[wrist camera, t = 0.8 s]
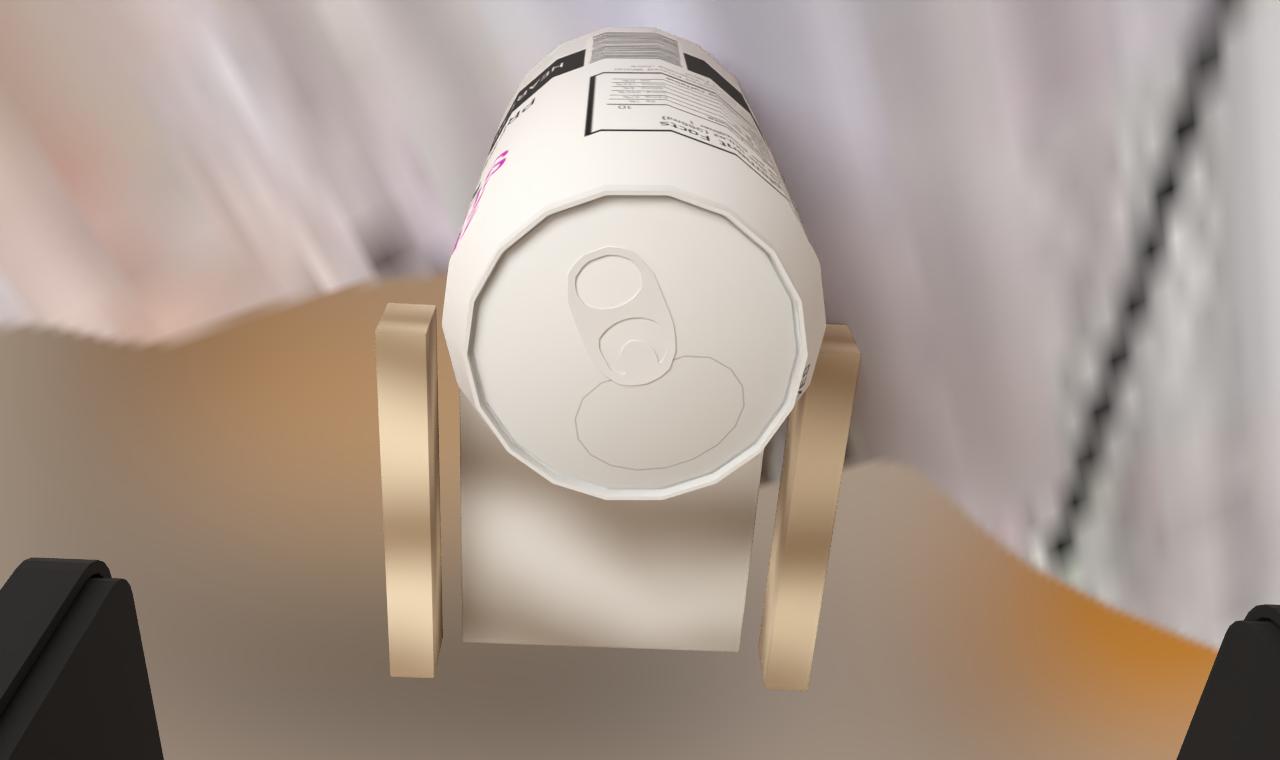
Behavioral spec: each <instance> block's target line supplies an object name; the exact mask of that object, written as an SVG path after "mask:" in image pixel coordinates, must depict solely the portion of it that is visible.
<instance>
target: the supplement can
mask: <svg viewBox="0 0 1280 760" xmlns="http://www.w3.org/2000/svg"><path fill="white" fill-rule="evenodd" d="M442 318H443V319H442V328H443V332H444V336H445V340H446V343H447V347H448V351H449V355H450V359H451V362H452V366H453V370H454V374H455V377H456V381H457V384H458V386H459V387H460V388H461V390H462V391H463V393H464V394H465V395H466V397H467V398H468V400H469V401H470V402H471V404H472V405H473V407H474V408H475V410H476V411H477V412H478V414H479V415H480V417H481V418H482V419H483V421H484V422H485V424H486V425H487V426H488V428H489V429H490V431H491V432H492V433H493V434H494V435H496V436H497V438H498V439H499V440H500V442H501V443H502V445H503V446H504V447H505V449H506V450H507V452H509V453H510V454H511V455H513V456H514V457H516V458H517V459H518V460H520V461H521V462H523V463H524V464H526V465H527V466H528V467H530V468H531V469H533V470H534V471H536V472H537V473H538V474H540V475H541V476H543V477H544V478H545V479H547V480H548V481H550V482H551V483H553V484H556V485H559V486H562V487H566V488H569V489H572V490H575V491H578V492H582V493H585V494H588V495H591V496H595V497H598V498H601V499H604V500H664V499H667V498H671V497H674V496H677V495H680V494H684V493H687V492H690V491H693V490H696V489H700V488H703V487H706V486H709V485H713V484H716V483H717V482H719V481H720V480H722V479H723V478H725V477H726V476H727V475H729V474H730V473H732V472H733V471H735V470H736V469H738V468H739V467H740V466H742V465H743V464H745V463H746V462H748V461H749V460H750V459H752V458H753V457H755V456H756V455H758V454H759V453H760V452H762V450H763V449H764V448H765V446H766V445H767V443H768V442H769V441H770V439H771V438H772V437H773V435H774V434H775V433H776V431H777V430H778V428H779V427H780V426H781V424H782V423H783V422H784V420H785V419H786V417H787V416H788V415H789V413H790V412H791V411H792V409H793V408H794V406H795V404H796V403H797V401H798V400H799V399H800V397H801V396H802V395H803V393H804V392H805V390H806V389H807V388H808V386H809V385H810V382H811V379H812V375H813V372H814V368H815V365H816V361H817V358H818V354H819V350H820V347H821V343H822V340H823V336H824V333H825V329H826V316H825V306H824V297H823V287H822V277H821V267H820V263H819V260H818V258H817V256H816V253H815V251H814V249H813V247H812V244H811V242H810V240H809V238H808V235H807V233H806V231H805V229H804V226H803V224H802V222H801V220H800V217H799V215H798V213H797V210H796V208H795V206H794V204H793V201H792V199H791V197H790V195H789V192H788V190H787V188H786V186H785V183H784V181H783V179H782V176H781V174H780V172H779V170H778V167H777V165H776V163H775V161H774V158H773V156H772V154H771V152H770V149H769V147H768V145H767V143H766V140H765V138H764V136H763V133H762V131H761V129H760V127H759V124H758V122H757V120H756V118H755V116H754V114H753V112H752V110H751V108H750V106H749V104H748V102H747V100H746V98H745V96H744V95H743V93H742V91H741V89H740V87H739V85H738V83H737V81H736V79H735V77H734V76H733V75H732V74H731V73H730V72H729V71H728V70H726V69H725V68H724V67H723V66H722V65H721V64H720V63H719V62H717V61H716V60H715V59H714V58H713V57H712V56H711V55H710V54H709V53H707V52H706V51H705V50H704V49H703V48H702V47H701V46H700V45H698V44H695V43H693V42H690V41H688V40H685V39H682V38H680V37H677V36H675V35H672V34H669V33H667V32H664V31H662V30H659V29H657V28H648V27H605V28H602V29H599V30H597V31H594V32H591V33H589V34H586V35H583V36H580V37H578V38H575V39H572V40H570V41H567V42H564V43H561V44H560V45H559V46H558V47H556V48H555V49H554V50H553V51H552V52H551V53H549V54H548V55H547V56H546V57H545V58H544V59H543V60H541V61H540V62H539V63H538V64H537V65H536V66H534V67H533V68H532V69H531V70H530V71H529V72H527V73H526V74H525V76H524V77H523V79H522V81H521V83H520V85H519V87H518V88H517V90H516V92H515V94H514V96H513V98H512V100H511V101H510V103H509V105H508V107H507V109H506V111H505V113H504V114H503V117H502V119H501V122H500V125H499V128H498V130H497V133H496V136H495V138H494V141H493V144H492V147H491V149H490V152H489V155H488V158H487V160H486V163H485V166H484V169H483V171H482V174H481V177H480V180H479V182H478V185H477V188H476V190H475V193H474V196H473V199H472V201H471V204H470V207H469V210H468V212H467V215H466V218H465V221H464V223H463V226H462V229H461V232H460V234H459V237H458V240H457V243H456V245H455V248H454V251H453V253H452V256H451V259H450V262H449V268H448V276H447V285H446V293H445V301H444V310H443V317H442Z"/></svg>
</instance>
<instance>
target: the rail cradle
mask: <svg viewBox="0 0 1280 760" xmlns="http://www.w3.org/2000/svg"><path fill="white" fill-rule="evenodd" d="M436 330H437V328H436V305H417V304H397V303H388V305H387V307H386V309H385V311H384V313H383V316H382V318H381V320H380V322H379V324H378V327H377V329H376V331H375V345H376V367H377V388H378V409H379V410H378V411H379V433H380V454H381V476H382V497H383V521H384V539H385V540H384V542H385V564H386V586H387V606H388V607H387V608H388V630H389V651H390V672H391V676H393V677H420V678H423V677H424V678H434V675H435V671H436V666H437V661H438V656H439V652H440V647H441V642H442V637H443V629H442V582H441V581H442V580H441V529H440V481H439V480H440V479H439V433H438V432H439V431H438V430H439V428H438V379H437V331H436ZM860 358H861V354H860V352H859V349H858V347H857V345H856V343H855V340H854V338H853V336H852V334H851V331H850V329H849V327H848V325H837V324H826V329H825V333H824V336H823V340H822V343H821V347H820V350H819V354H818V358H817V361H816V365H815V368H814V372H813V375H812V379H811V382H810V385H809V386H808V388H807V389H806V390H805V392H804V393H803V395H802V396H801V397H800V399H799V400H798V401H797V403H796V404H795V406H794V408H793V409H792V411H791V412H790V413H789V420H788V427H787V435H786V442H785V450H784V458H783V465H782V473H781V480H780V488H779V495H778V503H777V511H776V519H775V526H774V533H773V542H772V549H771V556H770V564H769V571H768V579H767V586H766V594H765V601H764V610H763V617H762V624H761V632H760V640H759V654H760V660H761V666H762V672H763V678H764V684H765V689H771V690H800V691H802V690H803V691H807V690H808V685H809V678H810V672H811V666H812V660H813V653H814V647H815V640H816V634H817V628H818V622H819V615H820V609H821V603H822V597H823V590H824V584H825V578H826V571H827V565H828V559H829V552H830V546H831V540H832V534H833V527H834V521H835V515H836V508H837V502H838V496H839V489H840V483H841V477H842V471H843V465H844V458H845V452H846V446H847V439H848V433H849V427H850V420H851V414H852V408H853V402H854V395H855V389H856V383H857V376H858V370H859V364H860ZM763 452H764V449H763V450H762V452H760V453H759V454H758V455H756V456H755V457H753V458H752V459H750V460H749V461H748V462H746V463H745V464H743V465H742V466H740V467H739V468H738V469H736V470H735V471H733V472H732V473H730V474H729V475H727V476H726V477H725V478H723V479H722V480H720V481H719V482H717V483H716V484H713V485H709V486H706V487H703V488H700V489H696V490H693V491H690V492H687V493H684V494H680V495H677V496H674V497H671V498H667V499H664V500H604V499H601V498H598V497H595V496H591V495H588V494H585V493H582V492H578V491H575V490H572V489H569V488H566V487H562V486H559V485H556V484H553V483H551V482H550V481H548V480H547V479H545V478H544V477H543V476H541V475H540V474H538V473H537V472H536V471H534V470H533V469H531V468H530V467H528V466H527V465H526V464H524V463H523V462H521V461H520V460H518V459H517V458H516V457H514V456H513V455H511V454H510V453H509V452H507V450H506V449H505V447H504V446H503V445H502V443H501V442H500V440H499V439H498V438H497V436H496V435H494V434H493V433H492V432H491V431H490V429H489V428H488V426H487V425H486V424H485V422H484V421H483V419H482V418H481V417H480V415H479V414H478V412H477V411H476V410H475V408H474V407H473V405H472V404H471V402H470V401H469V400H468V398H467V397H466V395H465V394H464V393H463V391H462V390H461V388H460V468H461V560H462V561H461V562H462V642H471V643H473V642H474V643H500V644H527V645H556V646H583V647H613V648H640V649H669V650H696V651H697V650H698V651H724V652H739V647H740V639H741V631H742V623H743V615H744V607H745V599H746V591H747V582H748V574H749V566H750V558H751V550H752V542H753V534H754V525H755V517H756V509H757V501H758V493H759V485H760V477H761V469H762V460H763Z"/></svg>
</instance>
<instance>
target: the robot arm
mask: <svg viewBox="0 0 1280 760" xmlns="http://www.w3.org/2000/svg"><path fill="white" fill-rule="evenodd" d="M0 760H164V758H163V753H162V748H161V742H160V737H159V732H158V726H157V721H156V716H155V710H154V705H153V700H152V694H151V689H150V684H149V679H148V673H147V668H146V663H145V657H144V652H143V647H142V642H141V636H140V631H139V626H138V620H137V615H136V610H135V604H134V599H133V594H132V590H131V587H130V585H129V583H128V582H127V580H125V579H118V578H112V577H111V574H110V571H109V568H108V567H107V566H106V564H105V563H104V562H102V561H99V560H83V559H57V558H56V559H55V558H30V559H27V560H25V561H23V562H22V563H21V564H20V565H19V566H18V567H17V568H16V570H15V571H14V572H13V574H12V575H11V576H10V578H9V579H8V580H7V582H6V583H5V584H4V586H3V587H2V589H1V590H0ZM1177 760H1280V605H1266V604H1265V605H1259V606H1256V607H1254V608H1253V609H1252V610H1251V611H1249V612H1248V614H1247V616H1246V618H1245V619H1244V621H1235V622H1234V623H1233V624H1232V625H1230V627H1229V628H1228V630H1227V632H1226V634H1225V636H1224V639H1223V642H1222V644H1221V647H1220V649H1219V652H1218V654H1217V657H1216V660H1215V662H1214V665H1213V667H1212V670H1211V672H1210V675H1209V678H1208V680H1207V683H1206V685H1205V688H1204V690H1203V693H1202V695H1201V698H1200V701H1199V704H1198V706H1197V708H1196V711H1195V714H1194V716H1193V719H1192V721H1191V724H1190V726H1189V729H1188V731H1187V734H1186V737H1185V739H1184V742H1183V745H1182V747H1181V749H1180V752H1179V755H1178V757H1177Z"/></svg>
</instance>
